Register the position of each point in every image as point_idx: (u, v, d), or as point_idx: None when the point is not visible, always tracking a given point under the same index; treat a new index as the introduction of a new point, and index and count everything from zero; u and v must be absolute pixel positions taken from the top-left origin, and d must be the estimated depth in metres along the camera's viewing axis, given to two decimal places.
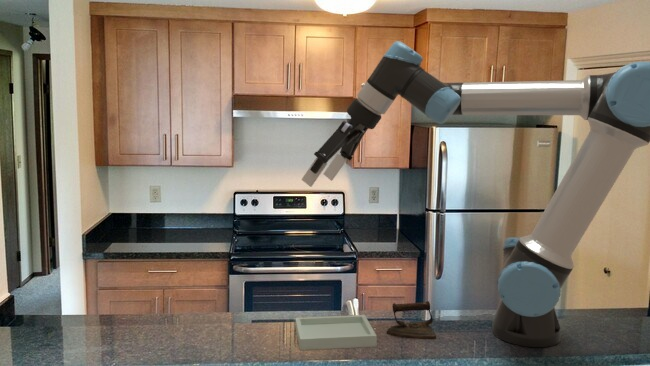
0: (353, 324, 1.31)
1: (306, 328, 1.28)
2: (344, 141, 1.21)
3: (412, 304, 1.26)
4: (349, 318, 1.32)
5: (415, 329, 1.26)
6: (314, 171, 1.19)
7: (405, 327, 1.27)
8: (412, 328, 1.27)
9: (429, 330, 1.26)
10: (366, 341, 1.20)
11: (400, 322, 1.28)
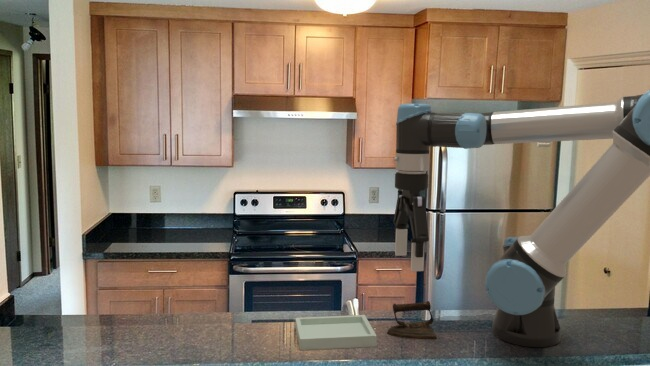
0: (353, 324, 1.31)
1: (306, 328, 1.28)
2: None
3: (412, 304, 1.26)
4: (349, 318, 1.32)
5: (415, 329, 1.26)
6: (421, 255, 1.18)
7: (405, 327, 1.27)
8: (412, 328, 1.26)
9: (429, 330, 1.26)
10: (366, 341, 1.20)
11: (400, 322, 1.27)
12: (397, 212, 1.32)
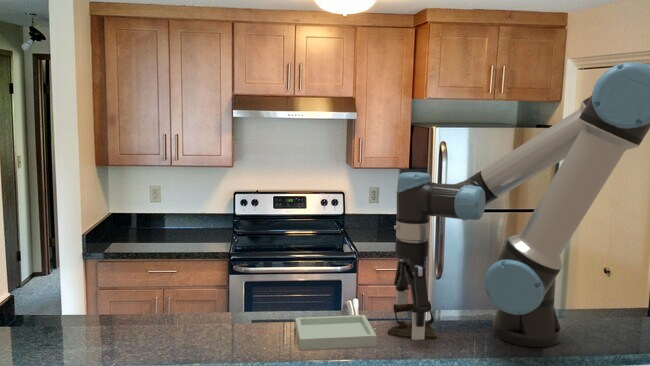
0: (353, 324, 1.31)
1: (306, 328, 1.28)
2: None
3: None
4: (349, 318, 1.32)
5: None
6: (422, 325, 1.20)
7: (406, 327, 1.27)
8: None
9: (430, 330, 1.26)
10: (366, 341, 1.20)
11: (401, 323, 1.27)
12: (398, 275, 1.34)
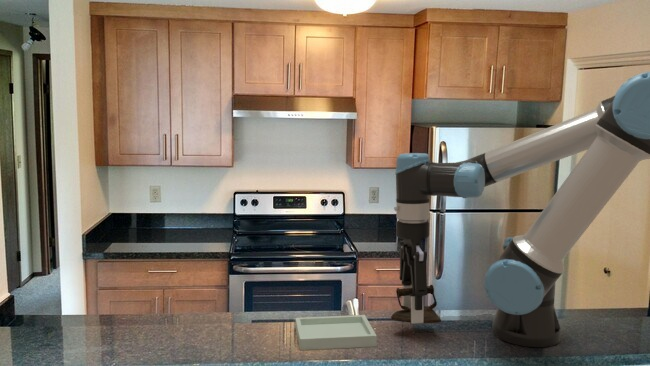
0: (353, 324, 1.31)
1: (306, 328, 1.28)
2: None
3: None
4: (349, 318, 1.32)
5: None
6: (420, 308, 1.22)
7: (409, 312, 1.26)
8: None
9: (434, 314, 1.25)
10: (366, 341, 1.20)
11: (404, 307, 1.27)
12: (402, 265, 1.31)
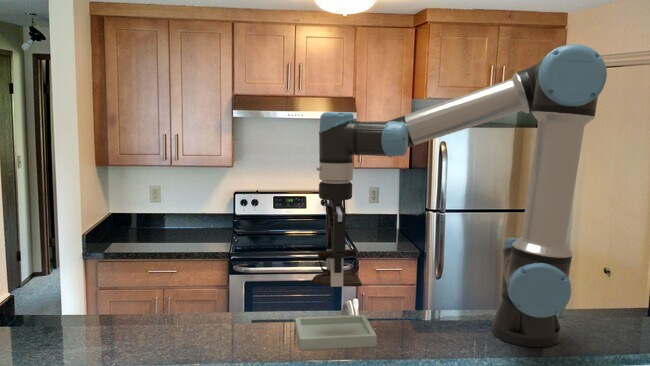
0: (353, 324, 1.31)
1: (306, 328, 1.28)
2: None
3: None
4: (349, 318, 1.32)
5: None
6: (339, 271, 1.19)
7: None
8: None
9: (355, 277, 1.22)
10: (366, 341, 1.20)
11: (326, 270, 1.24)
12: (327, 229, 1.28)
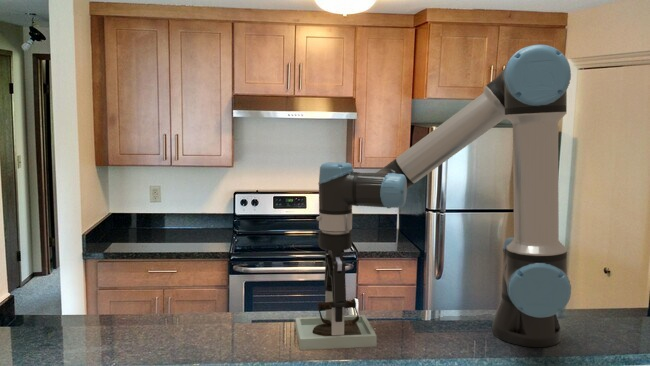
0: None
1: (306, 328, 1.28)
2: None
3: None
4: (349, 318, 1.32)
5: None
6: (340, 320, 1.19)
7: (331, 326, 1.24)
8: None
9: (355, 328, 1.23)
10: (366, 341, 1.20)
11: (326, 321, 1.25)
12: (326, 272, 1.30)
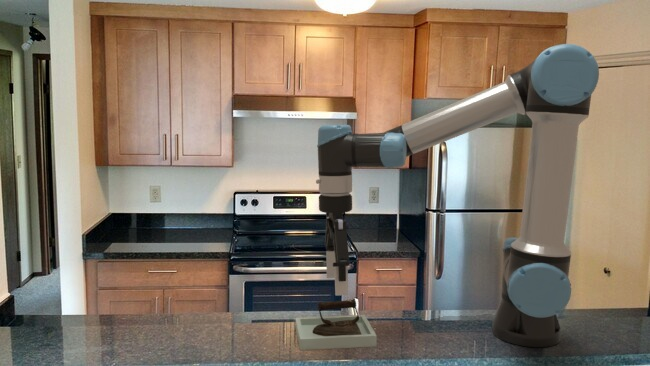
0: None
1: (306, 328, 1.28)
2: None
3: (338, 302, 1.24)
4: (349, 318, 1.32)
5: (341, 327, 1.24)
6: (344, 279, 1.16)
7: (331, 326, 1.24)
8: (338, 327, 1.24)
9: (355, 328, 1.23)
10: (366, 341, 1.20)
11: (326, 321, 1.25)
12: (327, 234, 1.30)
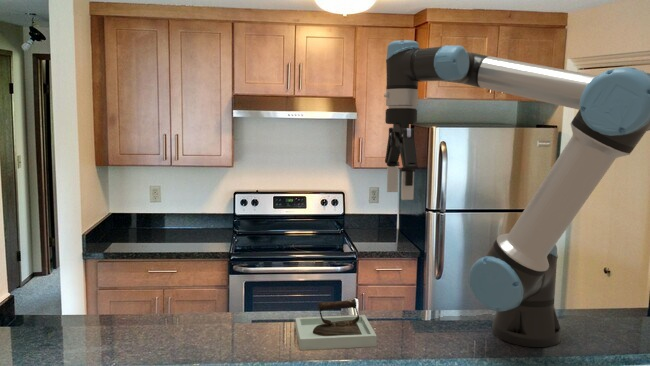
0: None
1: (306, 328, 1.28)
2: None
3: (338, 302, 1.24)
4: (349, 318, 1.32)
5: (341, 328, 1.24)
6: (411, 184, 1.24)
7: (331, 326, 1.24)
8: (338, 327, 1.24)
9: (355, 328, 1.23)
10: (366, 341, 1.20)
11: (326, 321, 1.25)
12: (388, 150, 1.38)
